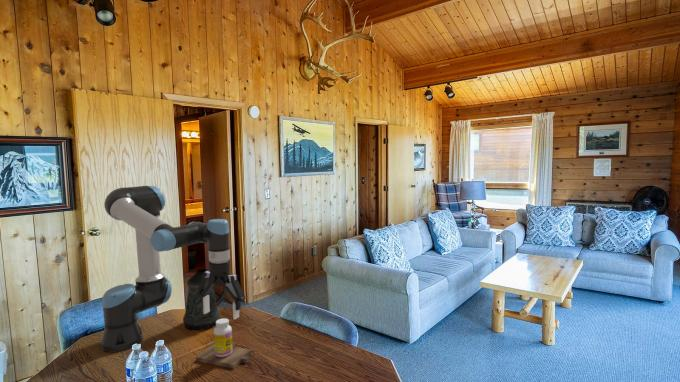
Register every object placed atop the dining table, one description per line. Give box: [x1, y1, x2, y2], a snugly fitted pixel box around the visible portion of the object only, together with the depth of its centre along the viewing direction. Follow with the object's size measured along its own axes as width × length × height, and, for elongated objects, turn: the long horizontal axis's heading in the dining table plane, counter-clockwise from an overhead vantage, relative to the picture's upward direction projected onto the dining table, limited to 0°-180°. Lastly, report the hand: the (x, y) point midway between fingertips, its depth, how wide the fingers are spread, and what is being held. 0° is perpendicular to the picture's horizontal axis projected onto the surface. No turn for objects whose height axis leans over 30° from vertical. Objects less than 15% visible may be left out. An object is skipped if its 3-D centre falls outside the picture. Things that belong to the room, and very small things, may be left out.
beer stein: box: [182, 268, 229, 332], centre depth 171 cm, size 16×19×25 cm
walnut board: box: [195, 343, 252, 369], centre depth 140 cm, size 19×11×2 cm, turn 70°
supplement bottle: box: [213, 318, 233, 357], centre depth 140 cm, size 7×7×13 cm
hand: (221, 315), depth 140 cm, fingers open, 13 cm apart
